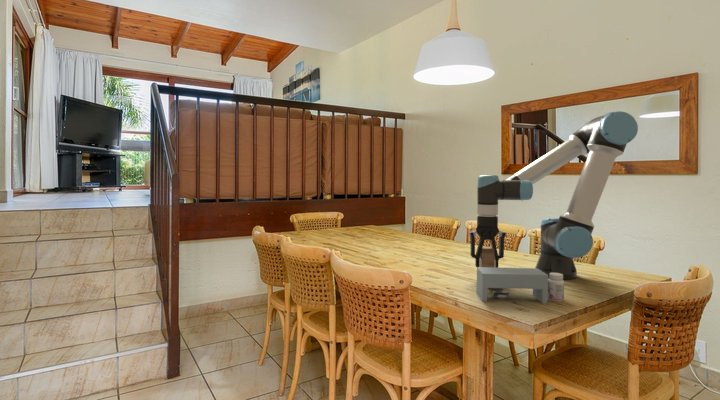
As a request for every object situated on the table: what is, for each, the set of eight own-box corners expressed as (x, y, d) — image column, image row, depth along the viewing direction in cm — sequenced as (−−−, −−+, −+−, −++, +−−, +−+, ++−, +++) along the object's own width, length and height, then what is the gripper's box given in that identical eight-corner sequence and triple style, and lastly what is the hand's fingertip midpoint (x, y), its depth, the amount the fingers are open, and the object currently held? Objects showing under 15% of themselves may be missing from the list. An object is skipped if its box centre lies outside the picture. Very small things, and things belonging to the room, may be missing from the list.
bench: (537, 294, 130) (537, 268, 130) (547, 303, 121) (548, 275, 121) (476, 293, 132) (476, 267, 132) (482, 301, 123) (482, 273, 123)
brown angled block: (479, 277, 151) (479, 246, 150) (491, 277, 150) (492, 246, 150) (488, 289, 134) (489, 255, 133) (503, 289, 134) (503, 255, 133)
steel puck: (506, 295, 130) (506, 290, 130) (510, 300, 125) (510, 294, 125) (491, 295, 130) (491, 289, 130) (494, 300, 125) (494, 294, 125)
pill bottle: (544, 297, 127) (545, 272, 127) (558, 297, 128) (558, 272, 127) (552, 302, 123) (553, 276, 122) (567, 301, 123) (567, 275, 122)
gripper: (508, 214, 150) (507, 273, 151) (462, 214, 152) (461, 272, 153) (514, 216, 142) (513, 278, 144) (465, 216, 144) (465, 277, 145)
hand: (486, 275), depth 148 cm, fingers closed on brown angled block, 4 cm apart
